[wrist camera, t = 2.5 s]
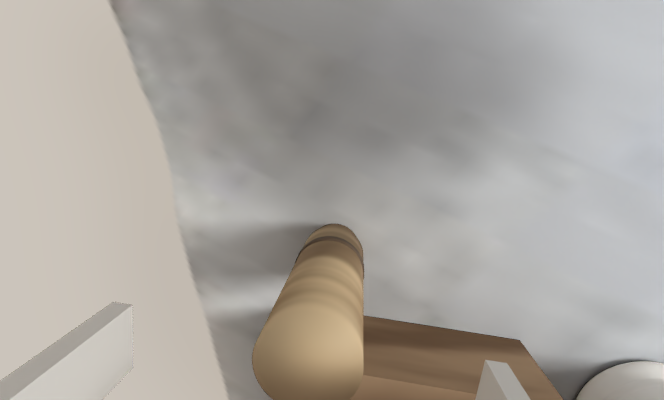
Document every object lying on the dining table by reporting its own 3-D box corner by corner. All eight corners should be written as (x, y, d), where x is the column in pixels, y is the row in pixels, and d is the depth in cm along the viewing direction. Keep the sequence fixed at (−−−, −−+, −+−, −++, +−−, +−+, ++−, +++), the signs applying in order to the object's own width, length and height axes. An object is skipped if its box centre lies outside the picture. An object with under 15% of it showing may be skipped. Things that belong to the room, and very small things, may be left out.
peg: (309, 215, 23) (254, 305, 11) (367, 223, 23) (372, 324, 11) (303, 269, 24) (247, 403, 12) (359, 277, 24) (356, 423, 12)
